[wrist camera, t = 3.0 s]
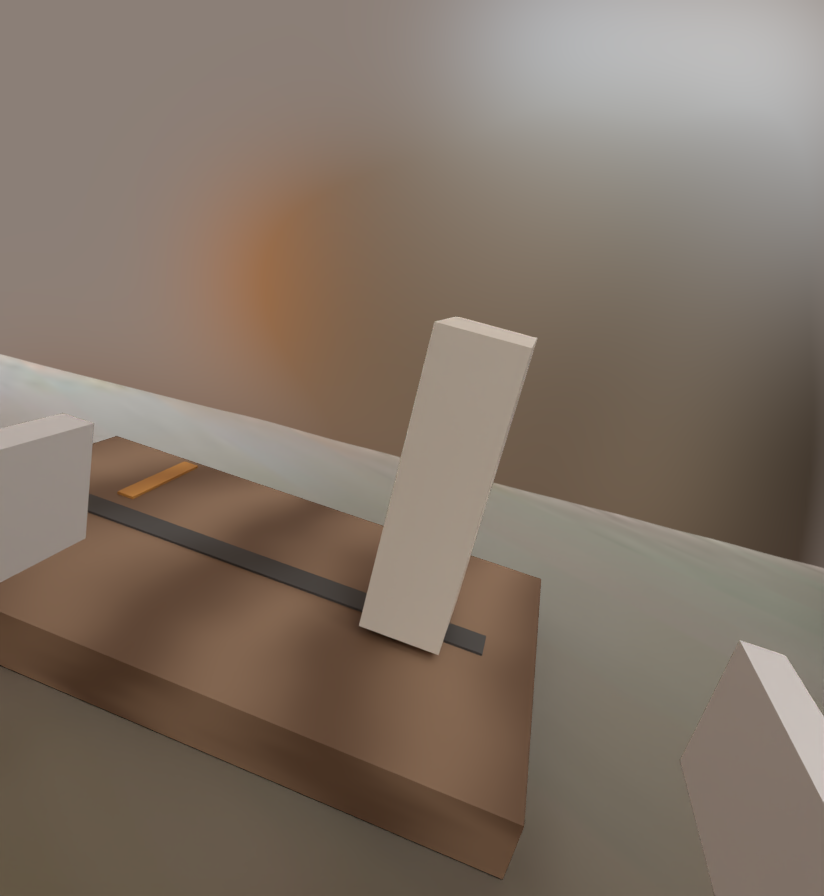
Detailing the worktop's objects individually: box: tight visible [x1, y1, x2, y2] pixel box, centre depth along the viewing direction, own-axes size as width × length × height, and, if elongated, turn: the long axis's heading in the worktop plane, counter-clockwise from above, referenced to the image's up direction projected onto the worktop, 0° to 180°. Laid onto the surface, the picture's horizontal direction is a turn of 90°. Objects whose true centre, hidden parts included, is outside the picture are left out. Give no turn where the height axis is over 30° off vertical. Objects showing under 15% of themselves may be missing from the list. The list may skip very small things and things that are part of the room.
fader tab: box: [359, 317, 537, 655], centre depth 21 cm, size 3×4×11 cm
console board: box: [0, 436, 541, 880], centre depth 24 cm, size 24×14×2 cm, turn 76°
